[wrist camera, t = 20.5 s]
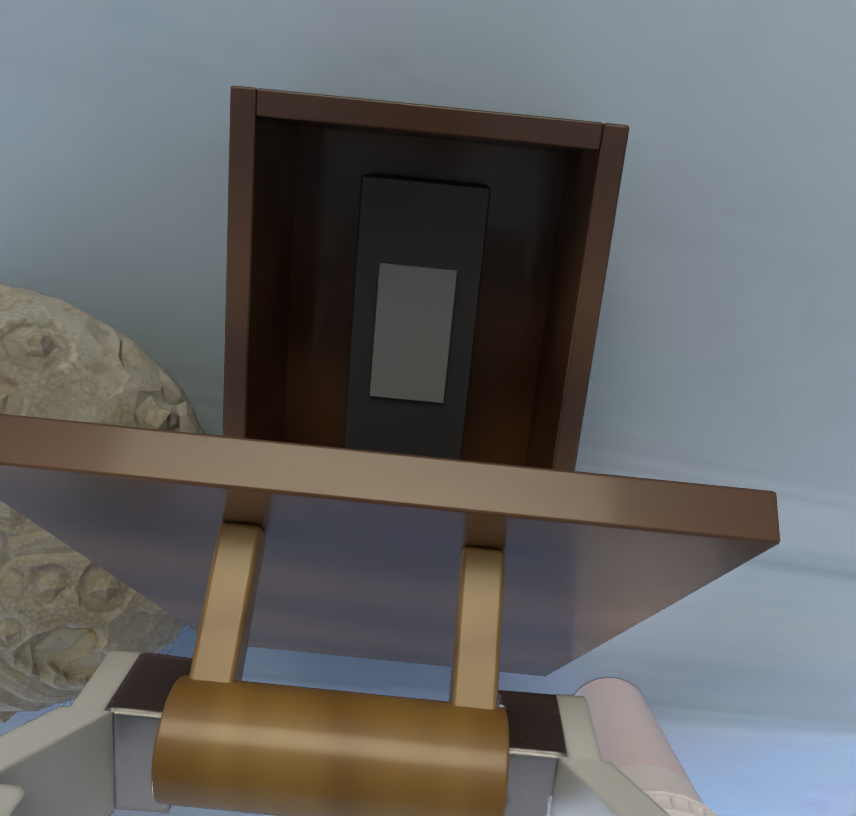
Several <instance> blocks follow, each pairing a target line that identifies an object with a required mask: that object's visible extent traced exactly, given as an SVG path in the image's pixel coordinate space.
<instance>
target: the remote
mask: <svg viewBox="0 0 856 816" xmlns="http://www.w3.org/2000/svg"><path fill="white" fill-rule="evenodd" d="M490 194H491V188H490V187H488V186H487V185H486V184H477V183H467V182H456V181H446V180H436V179H426V178H416V177H405V176H395V175H385V174H375V173H372V174H366V175H362V177H361V188H360V203H359V218H358V233H357V248H356V263H355V278H354V293H353V308H352V323H351V338H350V353H349V368H348V383H347V398H346V413H345V428H344V443H343V448H348V449H358V450H368V451H378V452H388V453H398V454H408V455H418V456H428V457H438V458H448V459H457V460H461V452H462V443H463V434H464V425H465V416H466V407H467V399H468V390H469V381H470V372H471V363H472V354H473V345H474V336H475V327H476V318H477V310H478V301H479V292H480V283H481V274H482V265H483V256H484V247H485V238H486V229H487V220H488V212H489V203H490Z"/></svg>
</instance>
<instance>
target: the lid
mask: <svg viewBox="0 0 856 816" xmlns="http://www.w3.org/2000/svg"><path fill="white" fill-rule="evenodd" d="M0 501H2V502H3V503H5V504H6V505H8V506H9V507H11V508H12V509H14V510H15V511H17V512H18V513H20V514H21V515H23V516H24V517H26V518H27V519H29V520H30V521H32V522H33V523H35V524H36V525H38V526H39V527H41V528H42V529H44V530H45V531H47V532H48V533H50V534H51V535H53V536H54V537H56V538H57V539H59V540H60V541H62V542H63V543H65V544H66V545H68V546H69V547H71V548H72V549H74V550H75V551H77V552H78V553H80V554H81V555H83V556H84V557H86V558H87V559H89V560H90V561H92V562H93V563H95V564H96V565H98V566H99V567H101V568H102V569H104V570H105V571H107V572H108V573H110V574H111V575H113V576H114V577H116V578H117V579H119V580H120V581H122V582H123V583H125V584H126V585H128V586H129V587H131V588H132V589H134V590H135V591H137V592H138V593H140V594H141V595H143V596H144V597H146V598H147V599H149V600H150V601H152V602H153V603H155V604H156V605H158V606H159V607H161V608H162V609H164V610H165V611H167V612H168V613H170V614H171V615H173V616H174V617H176V618H177V619H179V620H180V621H182V622H183V623H185V624H186V625H188V626H189V627H191V628H192V629H194V630H195V631H197V632H198V634H197V639H196V644H195V649H194V654H193V659H192V664H191V669H190V674H189V676H188V675H184V676H182V677H180V678H179V679H178V680H177V681H176V682H175V684H174V685H173V687H172V689H171V691H170V693H169V695H168V697H167V700H166V702H165V705H164V708H163V711H162V714H161V717H160V721H159V725H158V729H157V733H156V738H155V743H154V749H153V756H152V765H151V789H152V795H153V798H154V800H155V801H156V802H157V803H158V804H165V805H175V806H185V807H195V808H205V809H215V810H225V811H235V812H245V813H255V814H264V815H274V816H505V810H506V801H507V791H508V777H509V724H508V717H507V713H506V710H505V708H503V707H497V698H498V680H499V672H508V673H518V674H528V675H538V676H547V675H548V674H550V673H552V672H554V671H555V670H557V669H559V668H561V667H562V666H564V665H566V664H568V663H569V662H571V661H573V660H575V659H577V658H578V657H580V656H582V655H584V654H585V653H587V652H589V651H591V650H592V649H594V648H596V647H598V646H599V645H601V644H603V643H605V642H606V641H608V640H610V639H612V638H614V637H615V636H617V635H619V634H621V633H622V632H624V631H626V630H628V629H629V628H631V627H633V626H635V625H636V624H638V623H640V622H642V621H643V620H645V619H647V618H649V617H650V616H652V615H654V614H656V613H658V612H659V611H661V610H663V609H665V608H666V607H668V606H670V605H672V604H673V603H675V602H677V601H679V600H680V599H682V598H684V597H686V596H687V595H689V594H691V593H693V592H695V591H696V590H698V589H700V588H702V587H703V586H705V585H707V584H709V583H710V582H712V581H714V580H716V579H717V578H719V577H721V576H723V575H724V574H726V573H728V572H730V571H732V570H733V569H735V568H737V567H739V566H740V565H742V564H744V563H746V562H747V561H749V560H751V559H753V558H754V557H756V556H758V555H760V554H761V553H763V552H765V551H767V550H769V549H770V548H772V547H774V546H776V545H777V544H779V542H780V534H779V522H778V510H777V498H776V493H775V492H773V491H766V490H756V489H746V488H736V487H726V486H716V485H706V484H696V483H686V482H676V481H666V480H656V479H647V478H637V477H627V476H617V475H607V474H597V473H587V472H577V471H567V470H557V469H547V468H537V467H527V466H517V465H507V464H497V463H487V462H477V461H467V460H457V459H448V458H438V457H428V456H418V455H408V454H398V453H388V452H378V451H368V450H358V449H348V448H338V447H328V446H318V445H308V444H298V443H288V442H278V441H268V440H258V439H249V438H239V437H229V436H219V435H209V434H199V433H189V432H179V431H169V430H159V429H149V428H139V427H129V426H119V425H109V424H99V423H89V422H79V421H69V420H59V419H50V418H40V417H30V416H20V415H10V414H0ZM247 646H250V647H260V648H270V649H280V650H290V651H300V652H310V653H320V654H330V655H339V656H349V657H359V658H369V659H379V660H389V661H399V662H409V663H419V664H429V665H439V666H449V667H452V671H451V684H450V697H449V702H446V701H436V700H426V699H416V698H406V697H396V696H386V695H376V694H366V693H356V692H346V691H336V690H326V689H317V688H307V687H297V686H287V685H277V684H267V683H257V682H247V681H241V680H242V674H243V669H244V663H245V657H246V652H247Z"/></svg>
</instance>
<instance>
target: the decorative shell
mask: <svg viewBox="0 0 856 816" xmlns="http://www.w3.org/2000/svg"><path fill="white" fill-rule="evenodd" d="M0 414H10V415H20V416H30V417H40V418H50V419H59V420H69V421H79V422H89V423H99V424H109V425H119V426H129V427H139V428H149V429H159V430H169V431H179V432H189V433H199V434H205V433H204V432H203V430H202V428H201V426H200V425H199V423H198V421H197V418H196V416H195V413H194V410H193V408H192V406H191V404H190V402H189V401H188V399H187V397H186V395H185V393H184V392H183V390H182V388H181V387H180V386H179V385H178V384H177V382H176V381H175V380H174V379H173V378H172V377H171V376H170V375H169V374H168V373H167V371H166V370H165V369H164V368H163V367H162V366H160V365H159V364H158V363H157V362H155V361H154V360H153V359H152V358H150V357H149V355H148V354H147V353H146V352H145V351H144V350H143V349H142V348H141V347H140V346H139V345H138V344H137V343H136V342H135V341H133V340H132V339H130V338H129V337H127V336H125V335H124V334H122V333H121V332H119V331H118V330H116V329H115V328H113V327H112V326H110V325H109V324H107V323H105V322H104V321H102V320H100V319H99V318H97V317H95V316H92V315H90V314H88V313H86V312H84V311H82V310H81V309H79V308H77V307H75V306H73V305H72V304H70V303H68V302H66V301H63V300H61V299H59V298H54V297H48V296H45V295H43V294H40V293H38V292H35V291H32V290H30V289H27V288H15V287H9V286H6V285H3V284H0ZM184 626H185V623H183V622H182V621H180V620H179V619H177V618H176V617H174V616H173V615H171V614H170V613H168V612H167V611H165V610H164V609H162V608H161V607H159V606H158V605H156V604H155V603H153V602H152V601H150V600H149V599H147V598H146V597H144V596H143V595H141V594H140V593H138V592H137V591H135V590H134V589H132V588H131V587H129V586H128V585H126V584H125V583H123V582H122V581H120V580H119V579H117V578H116V577H114V576H113V575H111V574H110V573H108V572H107V571H105V570H104V569H102V568H101V567H99V566H98V565H96V564H95V563H93V562H92V561H90V560H89V559H87V558H86V557H84V556H83V555H81V554H80V553H78V552H77V551H75V550H74V549H72V548H71V547H69V546H68V545H66V544H65V543H63V542H62V541H60V540H59V539H57V538H56V537H54V536H53V535H51V534H50V533H48V532H47V531H45V530H44V529H42V528H41V527H39V526H38V525H36V524H35V523H33V522H32V521H30V520H29V519H27V518H26V517H24V516H23V515H21V514H20V513H18V512H17V511H15V510H14V509H12V508H11V507H9V506H8V505H6V504H5V503H3V502H2V501H0V721H1V722H5V721H7V720H8V719H9V718H10V717H11V716H12V715H14V714H15V713H16V712H18V711H38V710H40V709H43V708H46V707H48V706H51V705H52V704H54V703H62V702H66V701H71V700H73V699H75V698H76V697H77V696H78V695H79V694H80V692H81V691H82V689H83V688H84V687H85V685H86V684H87V682H88V681H89V680H90V678H91V677H92V675H93V674H94V673H95V671H96V670H97V668H98V667H99V666H100V664H101V663H102V662H103V660H104V659H105V657H106V656H107V655H108V653H109V652H111V651H113V650H115V649H117V650H127V651H137V652H142V653H144V652H146V653H154V654H157V653H159V652H160V651H162V650H163V649H165V648H166V647H167V646H168V645H170V644H171V643H172V642H173V641H174V639H175V638H176V637H177V636H178V634H179V633H180V632H181V630H182V629H183V628H184Z"/></svg>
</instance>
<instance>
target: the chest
mask: <svg viewBox="0 0 856 816" xmlns="http://www.w3.org/2000/svg"><path fill="white" fill-rule="evenodd" d="M628 133H629V126H627V125H621V124H611V123H605V124H603V123H601V122H592V121H582V120H572V119H562V118H552V117H542V116H532V115H522V114H512V113H502V112H492V111H482V110H472V109H462V108H452V107H442V106H432V105H422V104H412V103H402V102H392V101H382V100H372V99H362V98H352V97H342V96H332V95H322V94H312V93H302V92H292V91H282V90H272V89H262V88H259V89H257V88H252V87H242V86H231V96H230V141H229V185H228V230H227V275H226V319H225V364H224V409H223V436H229V437H239V438H249V439H258V440H268V441H278V442H288V443H298V444H308V445H318V446H328V447H338V448H343V443H344V428H345V413H346V398H347V383H348V368H349V353H350V338H351V323H352V308H353V293H354V278H355V263H356V248H357V233H358V218H359V203H360V188H361V177H362V175H366V174H372V173H375V174H385V175H395V176H405V177H416V178H426V179H436V180H446V181H456V182H467V183H477V184H486V185H487V186H488V187H490V188H491V194H490V203H489V212H488V220H487V229H486V238H485V247H484V256H483V265H482V274H481V283H480V292H479V301H478V310H477V318H476V327H475V336H474V345H473V354H472V363H471V372H470V381H469V390H468V399H467V407H466V416H465V425H464V434H463V443H462V452H461V460H467V461H477V462H487V463H497V464H507V465H517V466H527V467H537V468H547V469H557V470H567V471H575V465H576V459H577V453H578V446H579V440H580V434H581V428H582V421H583V415H584V409H585V403H586V396H587V390H588V384H589V377H590V371H591V365H592V359H593V352H594V346H595V340H596V334H597V327H598V321H599V315H600V309H601V302H602V296H603V290H604V284H605V277H606V271H607V265H608V259H609V252H610V246H611V240H612V233H613V227H614V221H615V215H616V208H617V202H618V196H619V190H620V183H621V177H622V171H623V165H624V158H625V152H626V146H627V140H628Z"/></svg>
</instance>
